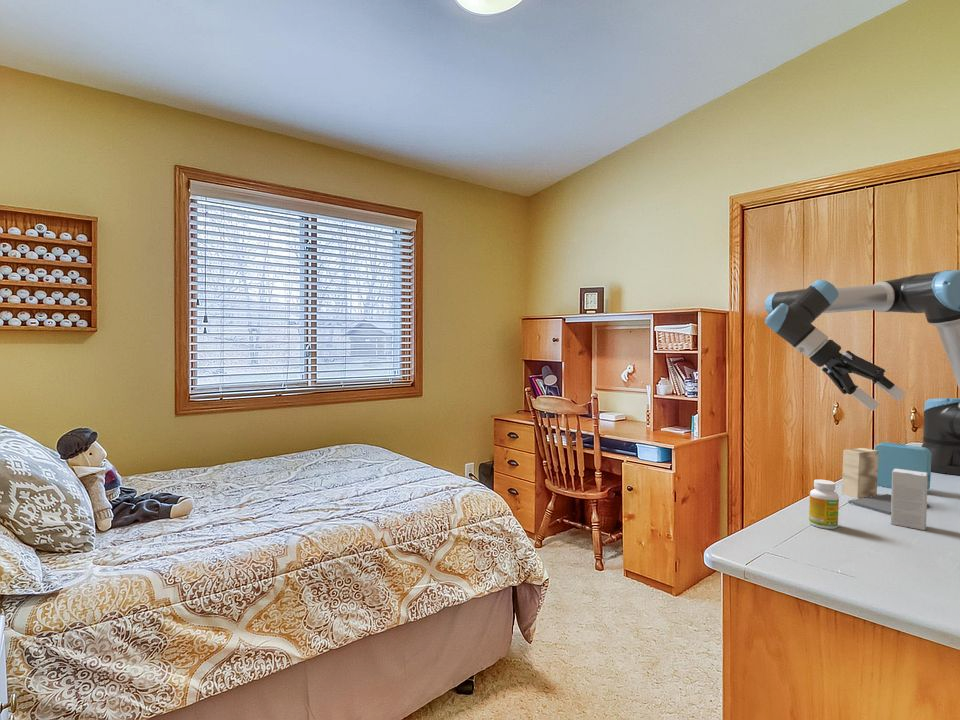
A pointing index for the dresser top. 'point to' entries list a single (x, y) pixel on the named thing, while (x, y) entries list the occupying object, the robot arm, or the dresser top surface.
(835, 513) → the supplement bottle
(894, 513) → the skincare box
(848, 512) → the dresser top surface
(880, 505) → the charcoal mat
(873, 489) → the maple block
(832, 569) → the dresser top surface
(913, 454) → the data package
